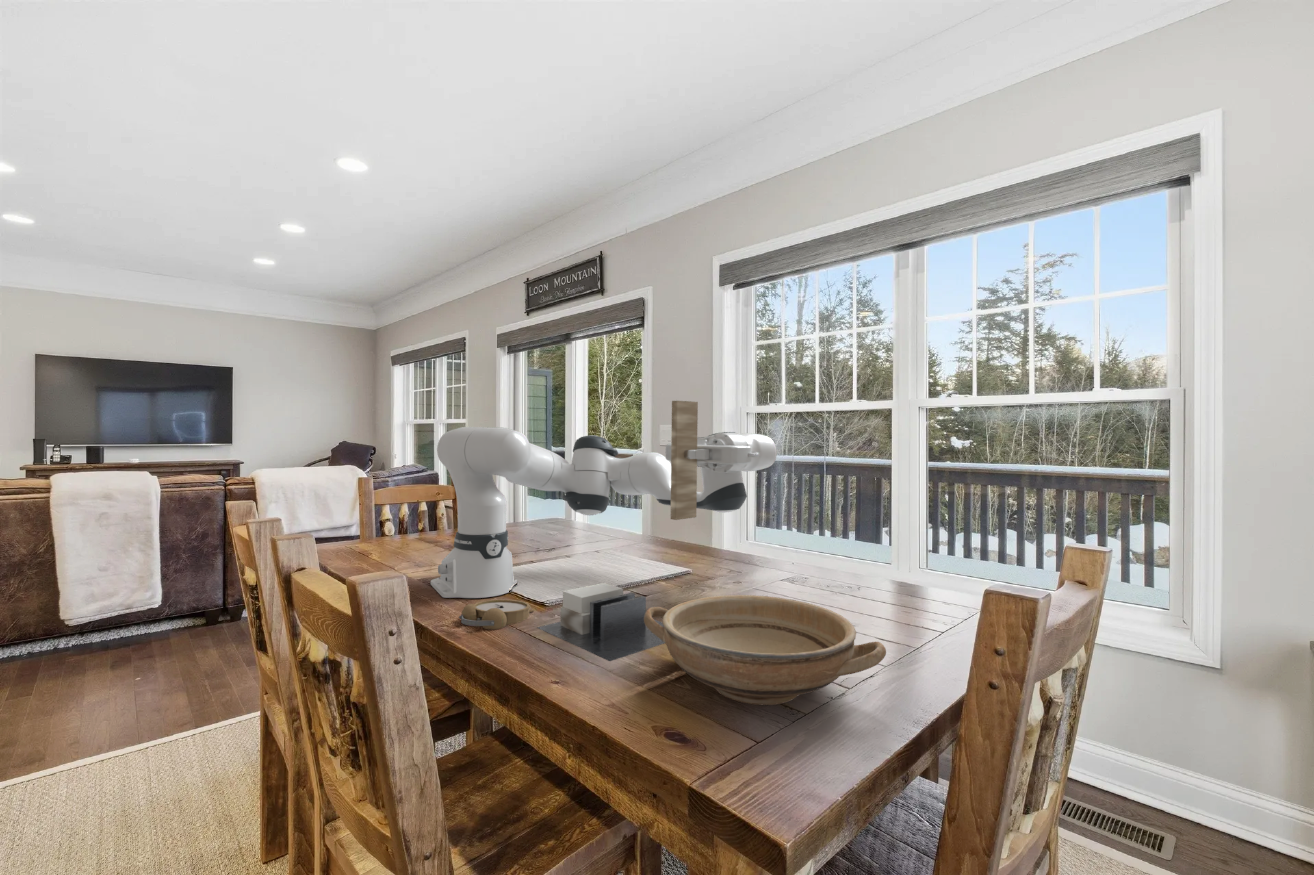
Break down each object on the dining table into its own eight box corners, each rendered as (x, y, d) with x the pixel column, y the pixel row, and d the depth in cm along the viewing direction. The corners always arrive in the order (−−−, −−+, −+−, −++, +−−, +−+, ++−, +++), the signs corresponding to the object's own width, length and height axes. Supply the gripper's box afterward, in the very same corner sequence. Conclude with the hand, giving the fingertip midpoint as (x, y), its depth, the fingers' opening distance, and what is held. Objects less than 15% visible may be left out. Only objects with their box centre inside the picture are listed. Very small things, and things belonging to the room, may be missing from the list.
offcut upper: (562, 606, 113) (563, 591, 113) (603, 597, 120) (604, 582, 120) (581, 614, 109) (581, 597, 109) (622, 603, 116) (623, 588, 116)
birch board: (670, 519, 120) (671, 400, 119) (690, 516, 124) (692, 402, 124) (676, 520, 119) (677, 400, 118) (696, 517, 123) (697, 401, 122)
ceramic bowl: (600, 697, 85) (601, 627, 85) (681, 637, 111) (682, 583, 110) (872, 764, 68) (873, 678, 68) (894, 675, 94) (895, 612, 94)
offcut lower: (560, 625, 113) (560, 607, 113) (609, 613, 121) (609, 596, 121) (582, 634, 108) (582, 615, 108) (631, 621, 116) (632, 603, 116)
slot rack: (536, 632, 112) (537, 595, 112) (618, 611, 125) (618, 578, 125) (609, 667, 96) (610, 624, 96) (694, 638, 109) (694, 601, 109)
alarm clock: (542, 604, 121) (492, 610, 108) (539, 629, 120) (489, 638, 107) (499, 597, 126) (447, 602, 113) (496, 621, 125) (443, 628, 112)
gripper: (763, 469, 123) (720, 472, 113) (691, 464, 137) (647, 467, 128) (763, 439, 122) (720, 439, 113) (691, 437, 137) (648, 437, 128)
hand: (681, 454), depth 120 cm, fingers closed on birch board, 2 cm apart
